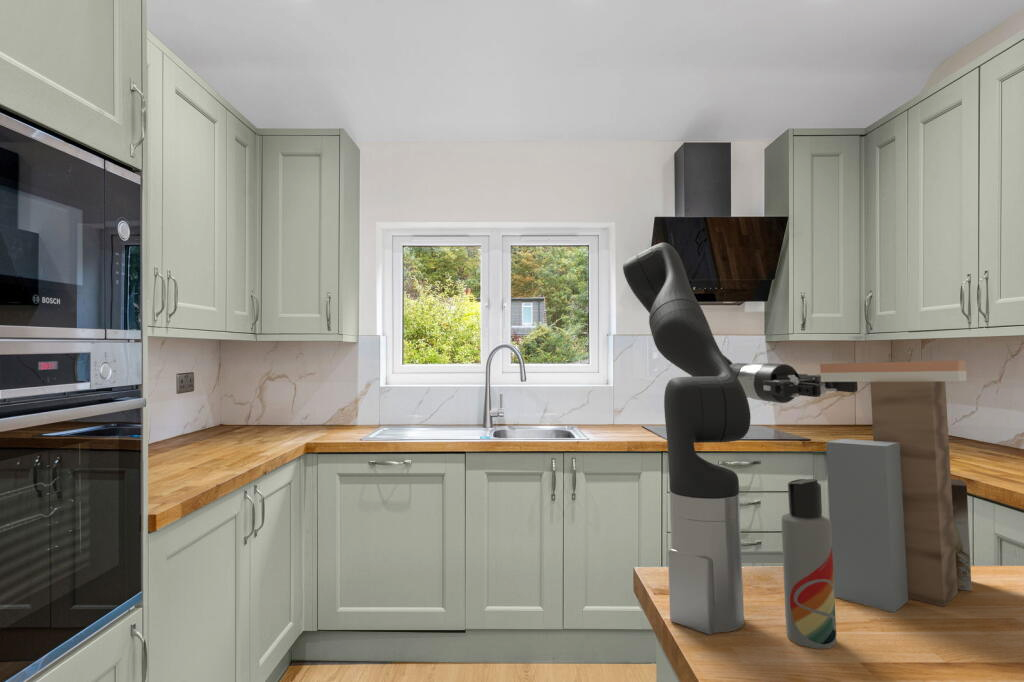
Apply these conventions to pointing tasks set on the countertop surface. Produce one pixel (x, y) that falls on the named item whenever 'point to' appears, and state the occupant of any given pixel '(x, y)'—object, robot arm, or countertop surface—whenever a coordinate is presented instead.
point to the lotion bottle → (808, 568)
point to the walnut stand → (921, 482)
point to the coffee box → (961, 534)
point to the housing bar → (894, 371)
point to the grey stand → (867, 522)
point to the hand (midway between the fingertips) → (837, 388)
